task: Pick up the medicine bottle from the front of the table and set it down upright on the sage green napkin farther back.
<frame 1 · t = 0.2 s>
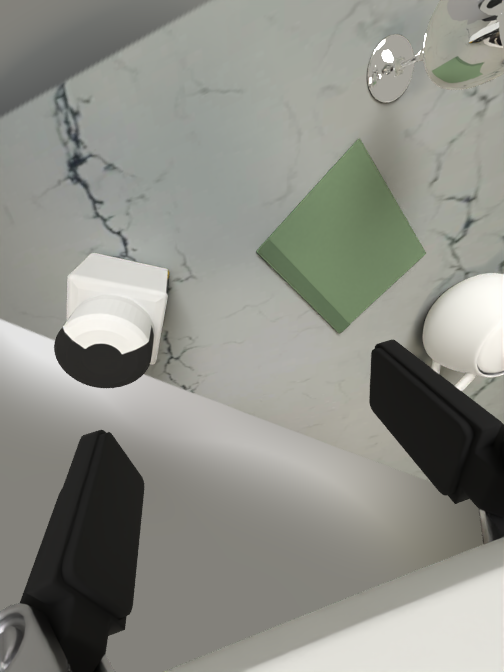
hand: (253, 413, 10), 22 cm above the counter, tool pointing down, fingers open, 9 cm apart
teapot: (456, 308, 41), on the counter
wineglass: (389, 70, 25), on the counter
medicine bottle: (128, 293, 29), on the counter
napkin: (346, 252, 32), on the counter
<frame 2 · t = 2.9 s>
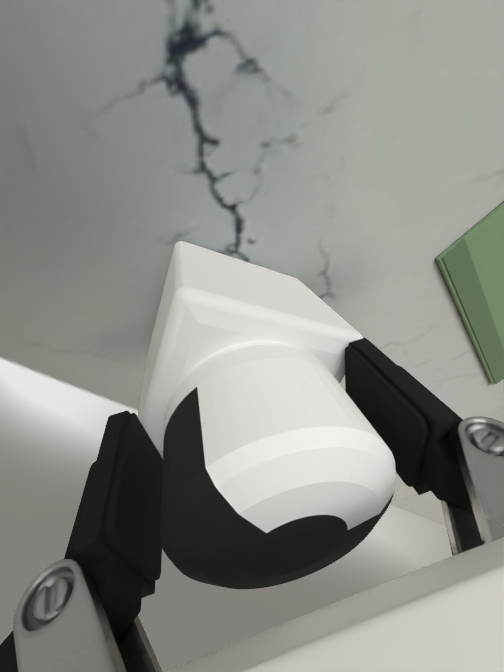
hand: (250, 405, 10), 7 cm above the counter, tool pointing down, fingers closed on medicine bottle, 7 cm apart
medicine bottle: (221, 316, 17), on the counter, touching gripper
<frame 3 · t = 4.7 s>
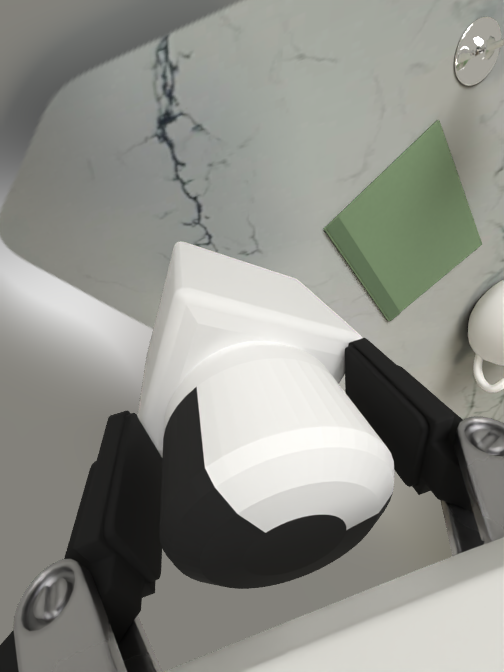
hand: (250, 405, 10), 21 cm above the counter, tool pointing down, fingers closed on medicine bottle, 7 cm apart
teapot: (500, 304, 41), on the counter
wineglass: (475, 53, 25), on the counter
medicine bottle: (221, 316, 17), point 14 cm above the counter, touching gripper
napkin: (408, 236, 32), on the counter
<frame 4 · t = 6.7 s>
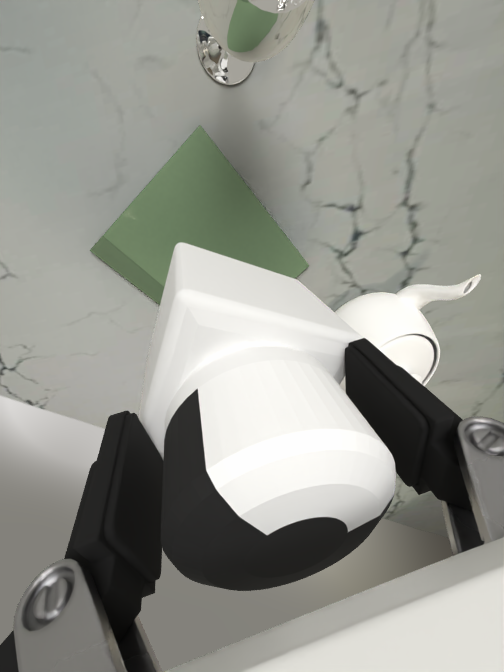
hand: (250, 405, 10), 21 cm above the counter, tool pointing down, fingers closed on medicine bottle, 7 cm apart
teapot: (357, 328, 37), on the counter
wineglass: (226, 46, 21), on the counter
medicine bottle: (222, 317, 17), point 13 cm above the counter, touching gripper
napkin: (210, 258, 28), on the counter
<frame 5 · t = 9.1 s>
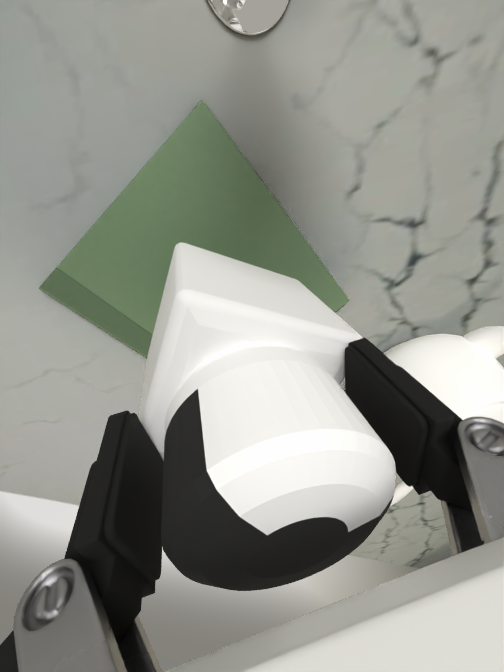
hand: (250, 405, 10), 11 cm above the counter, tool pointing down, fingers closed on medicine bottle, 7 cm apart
teapot: (402, 373, 29), on the counter
medicine bottle: (222, 317, 17), point 4 cm above the counter, touching gripper
napkin: (215, 293, 20), on the counter
when the fingers open (8 cm above the counter, at t = 10.8 s): medicine bottle stays where it is, resting on napkin.
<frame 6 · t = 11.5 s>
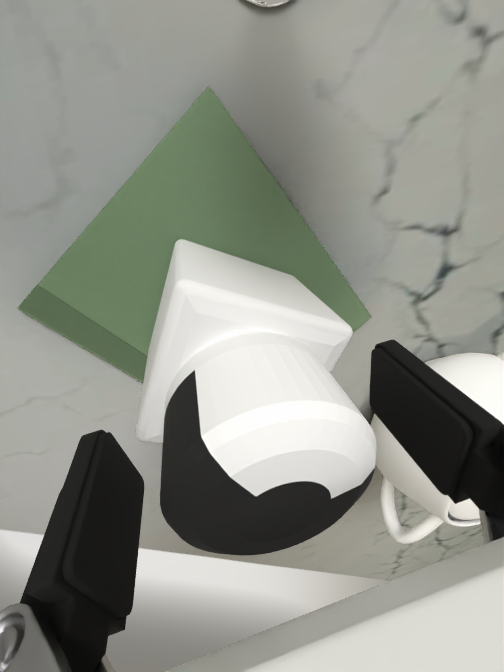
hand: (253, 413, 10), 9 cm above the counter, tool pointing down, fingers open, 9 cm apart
teapot: (424, 393, 26), on the counter
medicine bottle: (220, 311, 17), resting on napkin
napkin: (221, 311, 18), on the counter
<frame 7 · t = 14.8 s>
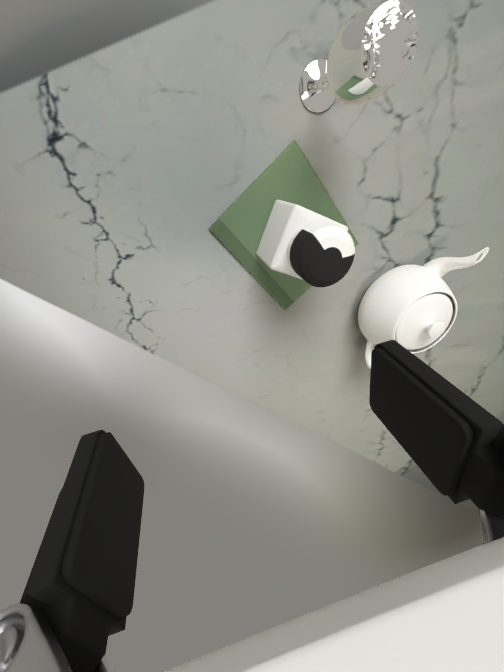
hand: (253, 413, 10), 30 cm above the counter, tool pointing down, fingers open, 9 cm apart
teapot: (389, 296, 47), on the counter
wineglass: (318, 87, 31), on the counter
medicine bottle: (288, 236, 38), resting on napkin
napkin: (288, 236, 38), on the counter
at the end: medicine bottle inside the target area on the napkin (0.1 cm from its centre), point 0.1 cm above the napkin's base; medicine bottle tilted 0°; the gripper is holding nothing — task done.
